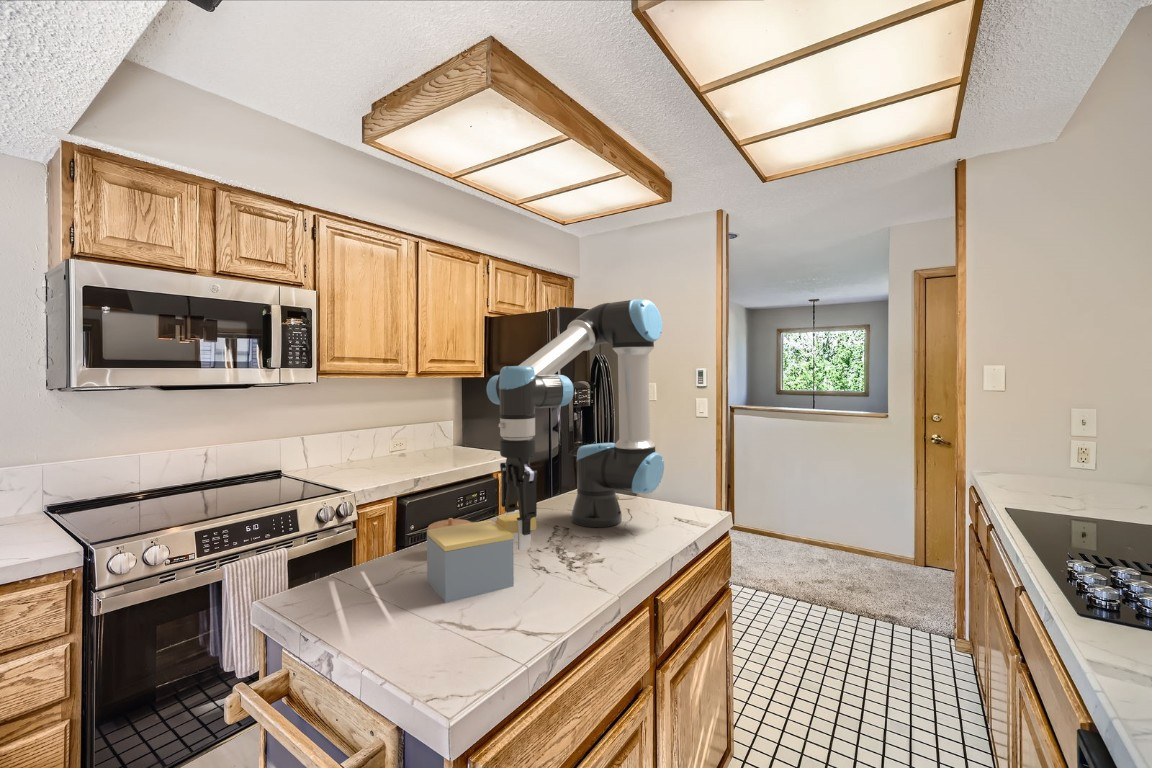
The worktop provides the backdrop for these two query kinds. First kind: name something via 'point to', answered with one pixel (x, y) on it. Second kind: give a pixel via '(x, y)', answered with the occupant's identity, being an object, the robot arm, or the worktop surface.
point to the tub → (470, 569)
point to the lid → (476, 532)
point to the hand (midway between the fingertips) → (518, 544)
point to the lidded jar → (447, 523)
